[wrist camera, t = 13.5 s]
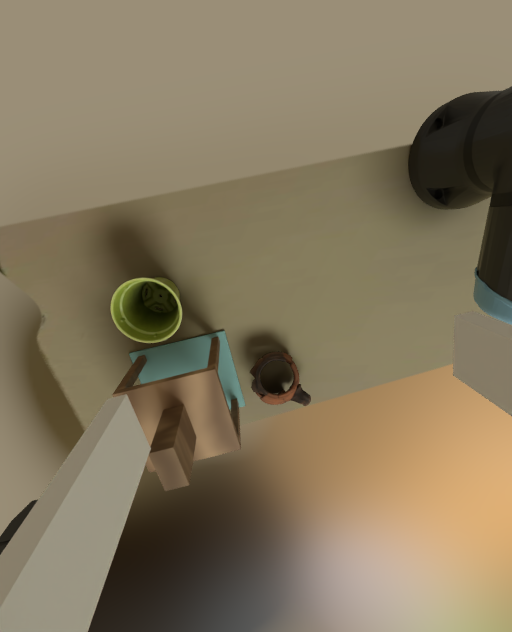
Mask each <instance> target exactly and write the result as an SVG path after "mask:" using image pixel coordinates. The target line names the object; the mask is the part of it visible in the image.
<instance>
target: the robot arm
mask: <svg viewBox="0 0 512 632" xmlns="http://www.w3.org/2000/svg"><path fill="white" fill-rule="evenodd" d="M409 174H410V180H411V183H412V186H413V188H414V190H415V192H416V193H417V195H418V196H419V197H420V198H421V199H422V200H423V201H424V202H425V203H426V204H428V205H430V206H432V207H435V208H438V209H459V208H465V207H469V206H472V205H474V204H476V203H479V202H481V201H483V200H485V199H487V198H489V197H491V202H490V206H489V211H488V215H487V220H486V225H485V230H484V235H483V240H482V245H481V250H480V255H479V260H478V265H477V267H476V268H475V272H474V273H475V278H476V280H475V287H474V300H475V302H476V303H477V304H478V305H479V307H480V308H481V309H482V310H483V311H484V312H486V313H487V314H489V315H490V316H492V317H494V318H496V319H498V320H501V321H503V322H501V321H498V320H496V319H493V318H490V317H488V316H485V315H482V314H480V313H477V312H474V311H472V312H467V313H463V314H459V315H455V316H454V361H453V376H455V377H456V378H458V379H459V380H461V381H462V382H463V383H465V384H467V385H468V386H469V387H471V388H472V389H474V390H475V391H476V392H478V393H479V394H481V395H482V396H484V397H485V398H486V399H488V400H489V401H491V402H492V403H494V404H495V405H497V406H498V407H499V408H501V409H502V410H504V411H505V412H507V413H508V414H509V415H511V416H512V87H510V88H508V89H506V90H503V91H490V92H474V93H469V94H465V95H462V96H460V97H457V98H455V99H453V100H452V101H450V102H448V103H446V104H444V105H442V106H441V107H439V108H438V109H437V110H435V111H434V112H433V113H432V114H431V115H430V116H429V117H428V118H427V119H426V121H425V122H424V123H423V124H422V126H421V127H420V129H419V131H418V133H417V135H416V137H415V139H414V141H413V144H412V148H411V151H410V157H409ZM504 322H505V323H504ZM506 323H508V324H506ZM509 324H511V325H509ZM150 450H151V448H150V446H149V443H148V441H147V439H146V437H145V434H144V432H143V430H142V428H141V425H140V423H139V421H138V419H137V416H136V414H135V412H134V410H133V407H132V405H131V403H130V401H129V398H128V396H127V394H125V395H121V396H117V397H113V398H109V399H107V400H106V401H105V403H104V404H103V406H102V407H101V409H100V410H99V412H98V413H97V415H96V416H95V418H94V419H93V420H92V422H91V423H90V425H89V426H88V428H87V429H86V431H85V432H84V434H83V435H82V437H81V438H80V440H79V441H78V442H77V444H76V445H75V447H74V448H73V450H72V451H71V453H70V454H69V456H68V457H67V458H66V460H65V461H64V463H63V464H62V466H61V468H60V469H59V470H58V472H57V473H56V474H55V476H54V478H53V479H52V480H51V482H50V483H49V485H48V486H47V488H46V489H45V491H44V492H43V493H42V495H41V496H40V498H39V499H38V500H34V501H32V502H31V503H29V505H27V507H25V508H24V509H23V510H22V512H20V513H19V514H18V515H17V516H16V517H15V518H14V519H13V520H12V521H11V523H10V524H9V525H8V527H7V528H6V529H5V531H4V532H3V534H2V535H1V536H0V632H88V629H89V626H90V623H91V620H92V617H93V614H94V612H95V609H96V605H97V603H98V600H99V597H100V594H101V591H102V588H103V586H104V583H105V579H106V577H107V574H108V571H109V568H110V565H111V562H112V559H113V557H114V554H115V551H116V548H117V545H118V542H119V539H120V536H121V533H122V530H123V528H124V525H125V522H126V519H127V516H128V513H129V510H130V507H131V505H132V502H133V499H134V496H135V493H136V490H137V487H138V484H139V481H140V478H141V475H142V473H143V469H144V467H145V464H146V461H147V458H148V455H149V452H150Z"/></svg>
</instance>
